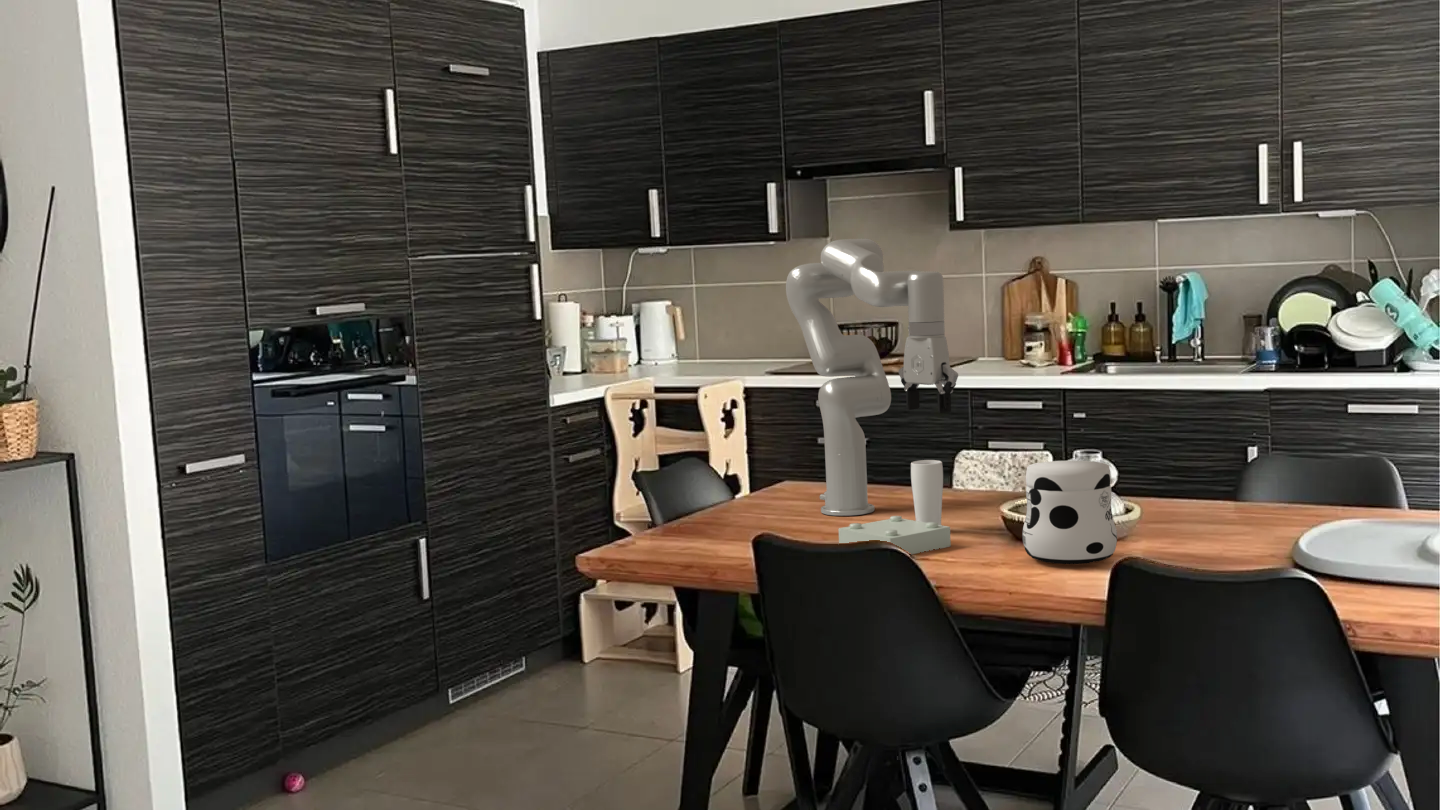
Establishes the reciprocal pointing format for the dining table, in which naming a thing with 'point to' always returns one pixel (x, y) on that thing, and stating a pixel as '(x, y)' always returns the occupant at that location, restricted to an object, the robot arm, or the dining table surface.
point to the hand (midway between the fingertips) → (928, 410)
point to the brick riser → (899, 534)
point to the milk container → (1069, 512)
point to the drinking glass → (927, 490)
